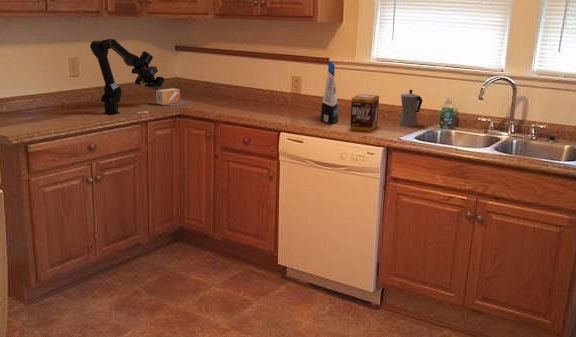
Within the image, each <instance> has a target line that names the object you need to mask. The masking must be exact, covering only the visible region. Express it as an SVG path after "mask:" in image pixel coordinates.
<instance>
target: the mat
mask: <svg viewBox="0 0 576 337" xmlns="http://www.w3.org/2000/svg"><path fill="white" fill-rule="evenodd" d="M185 103H186V104H190V101H184V100H180V103H172V104H165V105H164V106H167V107H173V106H174V105H175V106H179V104H180V105H185ZM148 104H152V105H160V106H162V105H161V104H157V103H156V101H150V102H148Z"/></svg>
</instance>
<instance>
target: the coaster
mask: <svg viewBox="0 0 576 337" xmlns="http://www.w3.org/2000/svg"><path fill="white" fill-rule="evenodd" d="M134 114H136V115H145V114H148V111H147V110H136V111H134Z"/></svg>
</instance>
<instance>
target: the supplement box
mask: <svg viewBox="0 0 576 337" xmlns="http://www.w3.org/2000/svg"><path fill="white" fill-rule="evenodd" d="M379 105H380V95H376V94H363V93H359V94H357V95H355V96H353V97H352V98H351V106H350V109H351V110H350V124H349V125H350V127H349V129H350V130H353V131H354V130H356V131H366V132H371V131H372V130H374V129H375V128H376V127H378V120H379V119H378V118H379V107H380V106H379Z"/></svg>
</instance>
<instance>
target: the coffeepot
mask: <svg viewBox="0 0 576 337" xmlns="http://www.w3.org/2000/svg"><path fill="white" fill-rule="evenodd" d="M400 96H401V99H400V100H401V108H402V112H401V115H400V120H399V123H398V124H399V125H400V126H403V127H417V126H418V124H419V123H418V115H417V114H418V113H419V112H420V110H421V107H422V104H423V99H422V97H421V95H418V94H415V93H413V89H409V93H402V94H401V95H400Z"/></svg>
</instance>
